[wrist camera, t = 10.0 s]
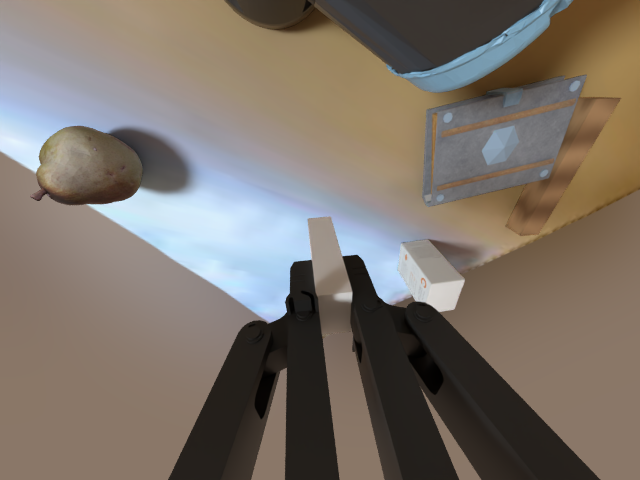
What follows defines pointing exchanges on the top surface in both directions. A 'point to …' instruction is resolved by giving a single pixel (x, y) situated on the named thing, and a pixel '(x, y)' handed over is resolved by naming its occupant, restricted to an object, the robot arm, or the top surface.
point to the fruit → (87, 168)
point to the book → (496, 139)
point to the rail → (561, 165)
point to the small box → (429, 275)
